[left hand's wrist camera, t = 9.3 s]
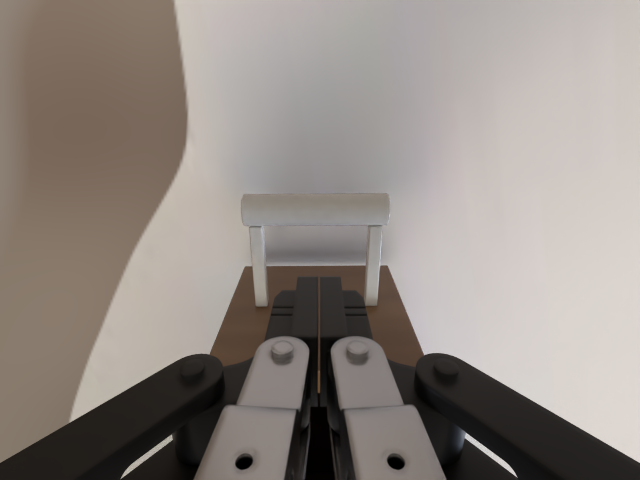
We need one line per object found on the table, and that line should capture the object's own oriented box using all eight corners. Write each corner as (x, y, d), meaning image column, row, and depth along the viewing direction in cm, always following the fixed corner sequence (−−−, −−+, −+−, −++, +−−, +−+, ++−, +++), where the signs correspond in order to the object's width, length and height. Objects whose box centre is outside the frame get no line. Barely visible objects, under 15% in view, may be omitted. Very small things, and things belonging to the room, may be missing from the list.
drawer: (235, 174, 20) (178, 234, 11) (395, 173, 20) (451, 232, 12) (263, 465, 29) (242, 613, 21) (371, 464, 29) (393, 611, 21)
